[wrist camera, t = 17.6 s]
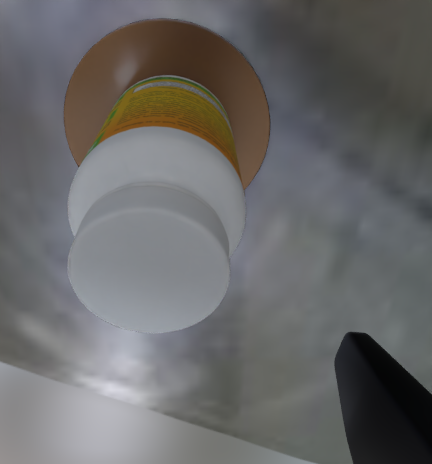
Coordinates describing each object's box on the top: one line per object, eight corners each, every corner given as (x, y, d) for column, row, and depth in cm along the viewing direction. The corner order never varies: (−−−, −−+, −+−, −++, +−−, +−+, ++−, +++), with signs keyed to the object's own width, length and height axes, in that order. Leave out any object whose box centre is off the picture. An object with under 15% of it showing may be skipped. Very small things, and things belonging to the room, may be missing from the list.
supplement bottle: (106, 65, 16) (16, 168, 8) (239, 80, 17) (279, 190, 9) (110, 185, 19) (47, 348, 11) (223, 194, 20) (241, 357, 12)
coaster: (289, 35, 16) (291, 37, 16) (249, 223, 21) (250, 228, 21) (58, 2, 15) (54, 3, 15) (72, 206, 20) (70, 211, 20)
